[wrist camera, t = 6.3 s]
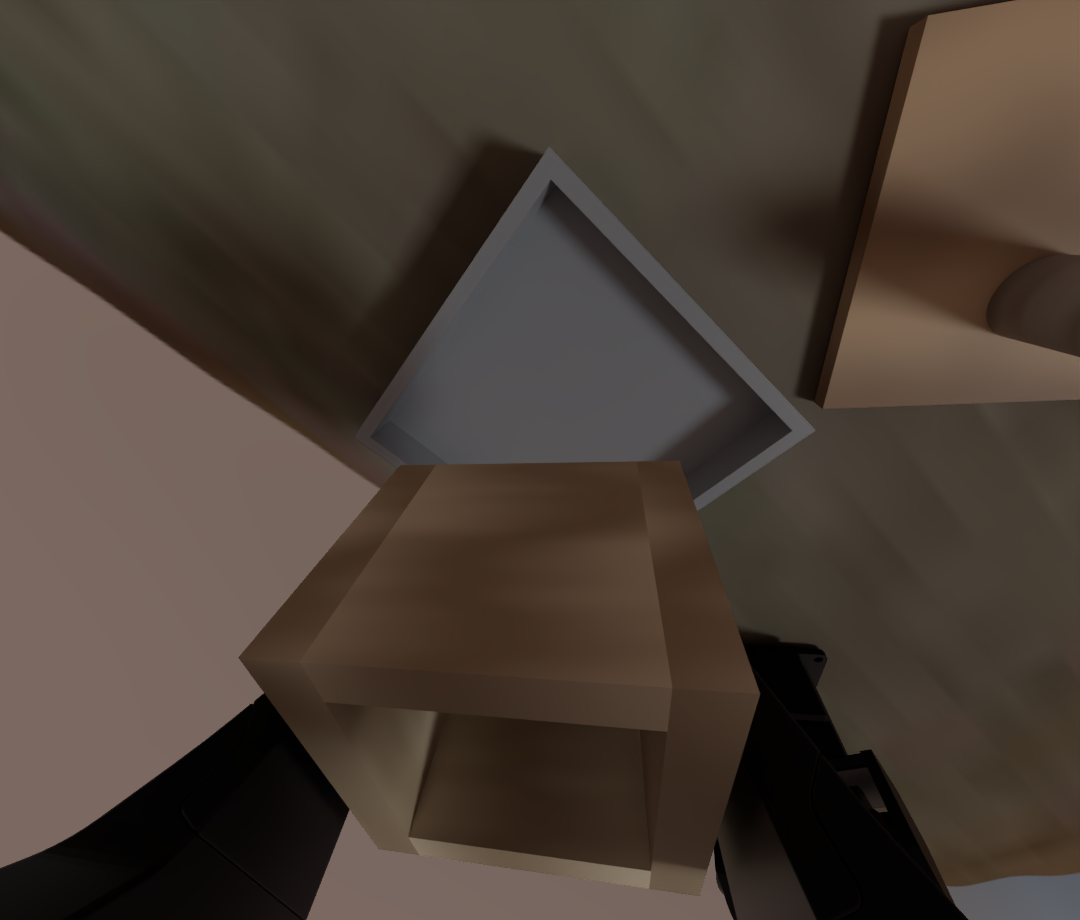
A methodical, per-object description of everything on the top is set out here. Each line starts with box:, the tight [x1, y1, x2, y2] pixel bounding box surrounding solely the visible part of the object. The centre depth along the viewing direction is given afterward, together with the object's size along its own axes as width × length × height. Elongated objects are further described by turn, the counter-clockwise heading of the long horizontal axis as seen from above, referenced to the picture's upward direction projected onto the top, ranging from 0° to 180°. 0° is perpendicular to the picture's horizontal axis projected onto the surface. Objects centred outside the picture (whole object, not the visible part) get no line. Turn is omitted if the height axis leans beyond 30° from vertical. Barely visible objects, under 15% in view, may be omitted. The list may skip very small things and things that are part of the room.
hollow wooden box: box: [239, 461, 760, 896], centre depth 9 cm, size 6×8×5 cm
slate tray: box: [354, 147, 816, 511], centre depth 19 cm, size 14×14×2 cm
